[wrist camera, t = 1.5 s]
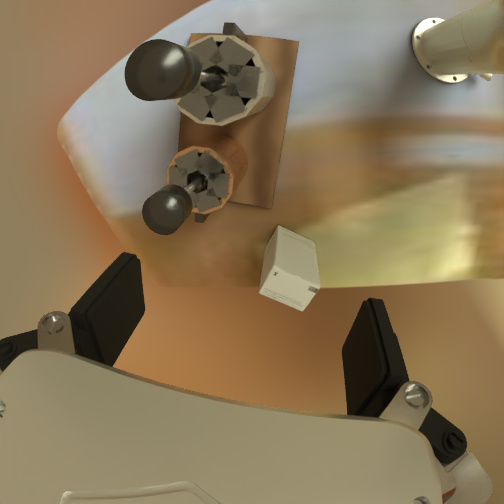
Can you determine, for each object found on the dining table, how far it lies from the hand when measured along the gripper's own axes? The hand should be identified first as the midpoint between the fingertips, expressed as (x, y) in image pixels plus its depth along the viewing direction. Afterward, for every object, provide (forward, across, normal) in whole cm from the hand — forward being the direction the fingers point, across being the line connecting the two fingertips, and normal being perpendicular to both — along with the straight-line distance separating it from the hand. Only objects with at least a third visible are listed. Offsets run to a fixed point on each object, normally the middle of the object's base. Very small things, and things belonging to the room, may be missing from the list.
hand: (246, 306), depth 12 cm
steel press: (+40, +8, -11) cm, 43 cm away
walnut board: (+42, +9, -4) cm, 43 cm away
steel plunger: (+28, +8, -10) cm, 31 cm away
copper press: (+41, +10, +5) cm, 42 cm away
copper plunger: (+32, +11, +4) cm, 34 cm away
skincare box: (+42, -5, +18) cm, 46 cm away
